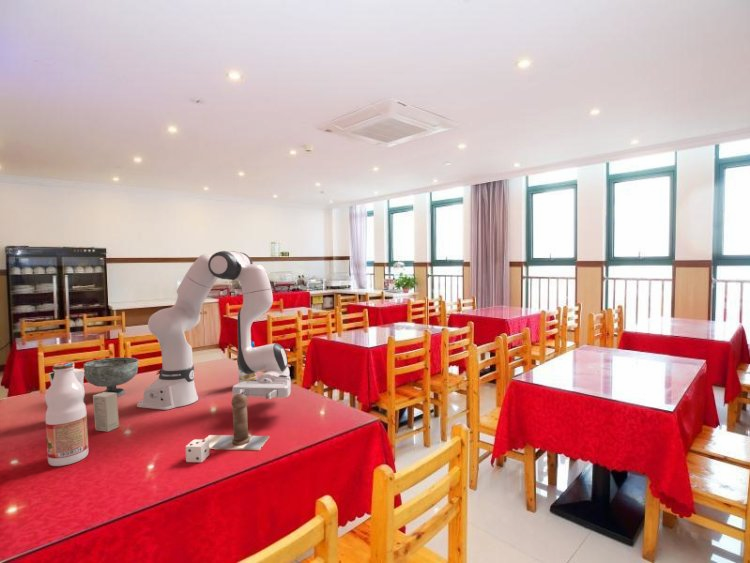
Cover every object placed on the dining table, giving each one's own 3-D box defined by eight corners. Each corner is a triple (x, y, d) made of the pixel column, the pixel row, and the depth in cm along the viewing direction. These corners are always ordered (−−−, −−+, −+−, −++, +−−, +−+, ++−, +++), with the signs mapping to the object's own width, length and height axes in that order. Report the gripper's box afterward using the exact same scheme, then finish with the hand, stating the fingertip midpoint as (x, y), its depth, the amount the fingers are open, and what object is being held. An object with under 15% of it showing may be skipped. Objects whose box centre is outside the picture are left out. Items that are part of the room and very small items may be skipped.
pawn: (229, 445, 122) (227, 396, 121) (236, 437, 127) (234, 391, 126) (245, 445, 121) (244, 396, 121) (252, 438, 127) (250, 391, 126)
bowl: (147, 392, 177) (146, 358, 177) (99, 405, 161) (97, 368, 160) (125, 385, 188) (123, 353, 187) (77, 397, 172) (75, 362, 171)
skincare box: (119, 427, 139) (117, 392, 138) (107, 432, 134) (105, 396, 134) (106, 425, 141) (104, 391, 140) (93, 430, 136) (92, 395, 136)
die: (185, 462, 113) (184, 446, 112) (194, 454, 117) (194, 438, 117) (202, 463, 112) (201, 446, 112) (210, 454, 117) (209, 439, 117)
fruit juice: (72, 467, 111) (67, 367, 110) (39, 467, 112) (33, 368, 110) (96, 451, 121) (91, 359, 120) (65, 451, 121) (60, 359, 120)
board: (194, 449, 121) (194, 447, 121) (209, 436, 130) (209, 434, 130) (259, 450, 119) (259, 448, 119) (269, 437, 128) (269, 435, 128)
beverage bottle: (260, 382, 188) (259, 340, 187) (253, 388, 179) (251, 344, 178) (243, 382, 188) (241, 340, 187) (235, 388, 180) (233, 344, 179)
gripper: (241, 375, 150) (224, 387, 137) (294, 376, 149) (282, 388, 135) (241, 392, 151) (224, 405, 137) (294, 393, 149) (283, 406, 135)
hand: (254, 396), depth 136 cm, fingers open, 8 cm apart
